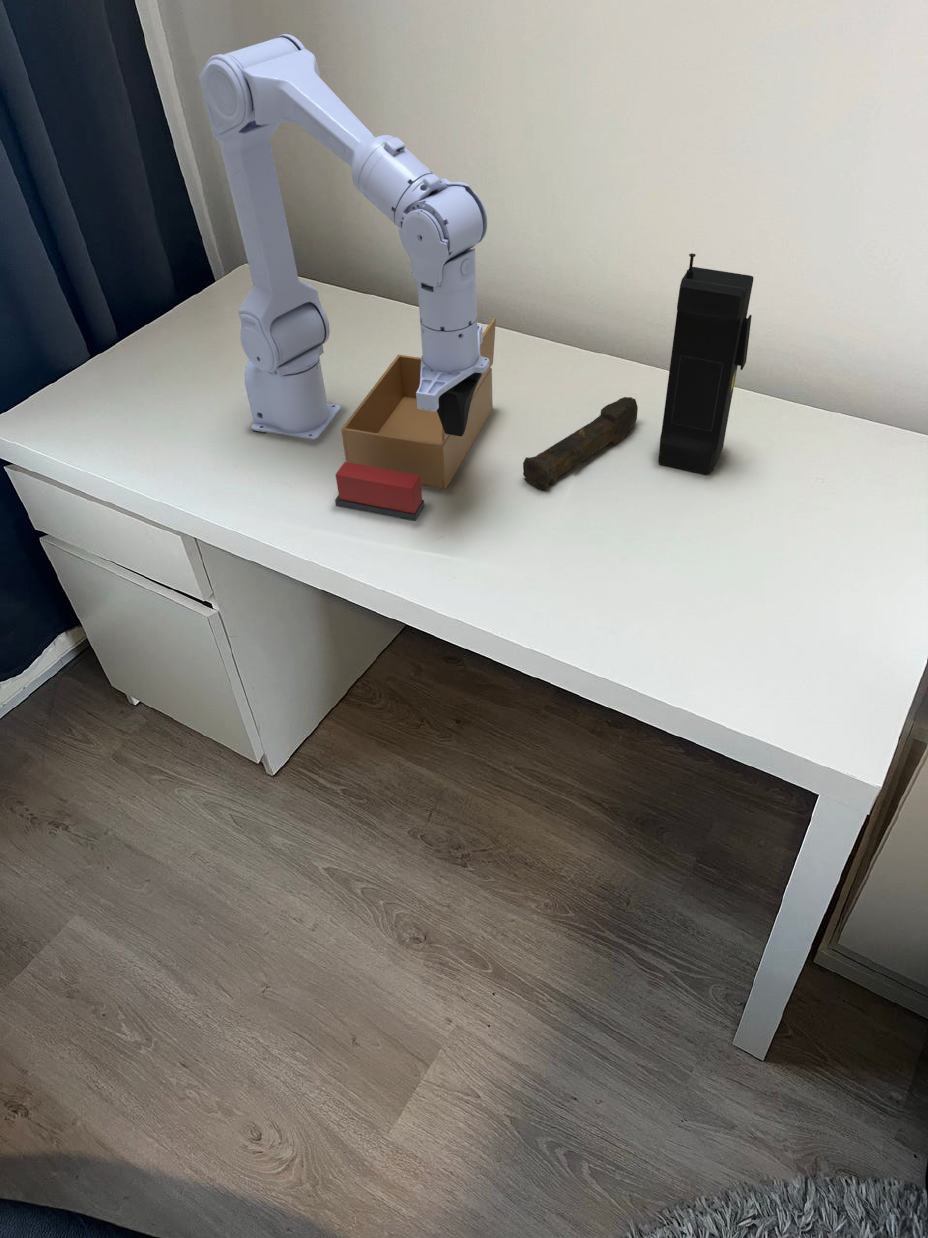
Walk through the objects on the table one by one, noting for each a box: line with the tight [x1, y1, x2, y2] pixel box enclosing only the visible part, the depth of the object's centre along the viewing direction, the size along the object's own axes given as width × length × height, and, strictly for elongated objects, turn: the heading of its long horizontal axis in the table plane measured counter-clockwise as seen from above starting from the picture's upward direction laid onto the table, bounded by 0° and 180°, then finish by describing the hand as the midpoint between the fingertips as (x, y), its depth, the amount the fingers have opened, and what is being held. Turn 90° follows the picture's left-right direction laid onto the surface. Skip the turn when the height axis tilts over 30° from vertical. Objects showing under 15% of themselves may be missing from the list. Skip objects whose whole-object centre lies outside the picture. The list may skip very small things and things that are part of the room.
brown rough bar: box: [522, 396, 639, 491], centre depth 114 cm, size 19×4×5 cm, turn 131°
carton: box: [340, 354, 494, 490], centre depth 117 cm, size 18×13×6 cm
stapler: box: [334, 461, 425, 522], centre depth 108 cm, size 10×3×5 cm, turn 71°
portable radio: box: [658, 253, 754, 475], centre depth 105 cm, size 8×6×25 cm
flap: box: [442, 317, 497, 442], centre depth 110 cm, size 18×6×1 cm
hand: (454, 433), depth 103 cm, fingers closed, pressing on flap
